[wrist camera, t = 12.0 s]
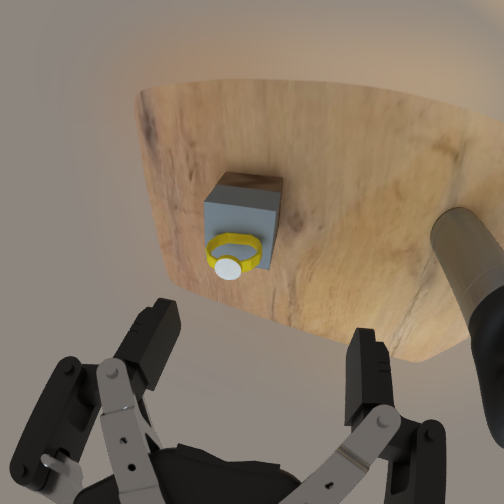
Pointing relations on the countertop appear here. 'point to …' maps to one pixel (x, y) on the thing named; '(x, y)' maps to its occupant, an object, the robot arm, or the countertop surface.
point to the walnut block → (254, 184)
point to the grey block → (242, 220)
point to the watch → (229, 264)
